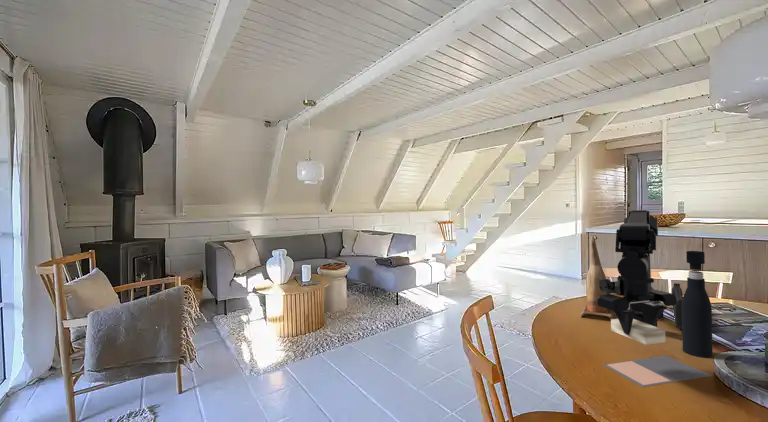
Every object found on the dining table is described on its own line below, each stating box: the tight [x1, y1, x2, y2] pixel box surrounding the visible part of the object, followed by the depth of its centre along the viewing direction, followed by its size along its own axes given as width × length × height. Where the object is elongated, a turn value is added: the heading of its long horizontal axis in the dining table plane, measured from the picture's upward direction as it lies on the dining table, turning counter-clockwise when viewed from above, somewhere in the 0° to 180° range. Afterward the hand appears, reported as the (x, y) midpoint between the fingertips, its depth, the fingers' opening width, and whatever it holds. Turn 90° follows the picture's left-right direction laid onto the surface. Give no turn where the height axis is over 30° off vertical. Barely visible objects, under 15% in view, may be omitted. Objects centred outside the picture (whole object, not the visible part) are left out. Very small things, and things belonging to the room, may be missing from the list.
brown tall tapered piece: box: [580, 235, 616, 320], centre depth 135 cm, size 11×12×32 cm
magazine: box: [671, 282, 684, 330], centre depth 128 cm, size 17×3×30 cm
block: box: [610, 318, 666, 346], centre depth 90 cm, size 10×6×3 cm, turn 11°
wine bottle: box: [681, 250, 713, 359], centre depth 99 cm, size 6×6×30 cm
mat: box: [602, 355, 713, 388], centre depth 91 cm, size 21×12×1 cm, turn 101°
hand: (636, 332), depth 90 cm, fingers closed on block, 6 cm apart
